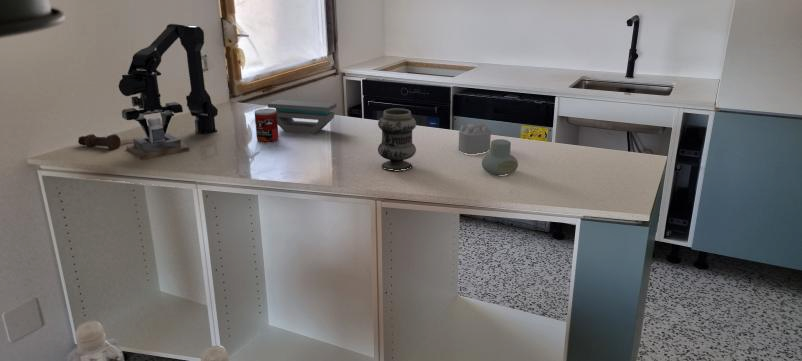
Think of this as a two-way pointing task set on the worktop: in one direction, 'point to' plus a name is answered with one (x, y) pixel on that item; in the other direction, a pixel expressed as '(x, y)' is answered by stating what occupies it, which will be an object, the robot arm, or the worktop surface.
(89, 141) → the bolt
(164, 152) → the collar board
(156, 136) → the pill bottle
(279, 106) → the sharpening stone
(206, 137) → the worktop surface
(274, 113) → the canned food
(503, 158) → the air freshener
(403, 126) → the apothecary jar
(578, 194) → the worktop surface
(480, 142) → the lumpy-topped squat cylinder
